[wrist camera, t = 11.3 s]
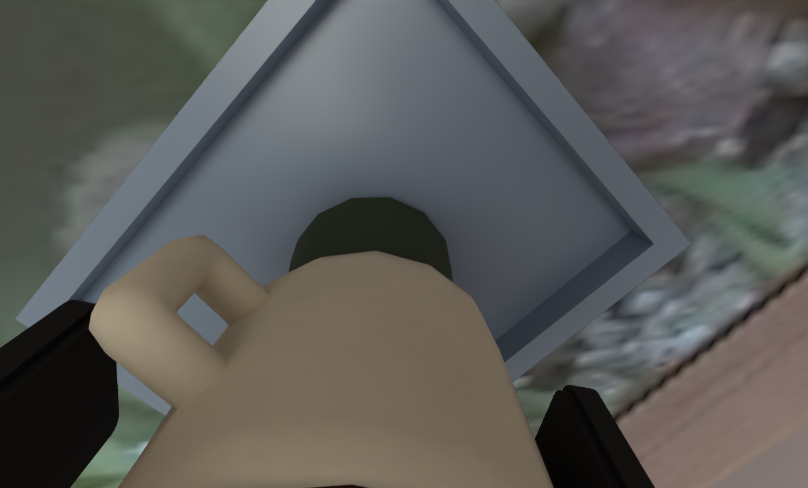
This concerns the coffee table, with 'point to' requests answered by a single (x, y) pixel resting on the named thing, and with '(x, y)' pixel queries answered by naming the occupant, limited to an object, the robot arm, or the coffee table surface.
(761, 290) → the coffee table surface
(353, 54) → the tray
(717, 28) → the coffee table surface
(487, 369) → the character mug
